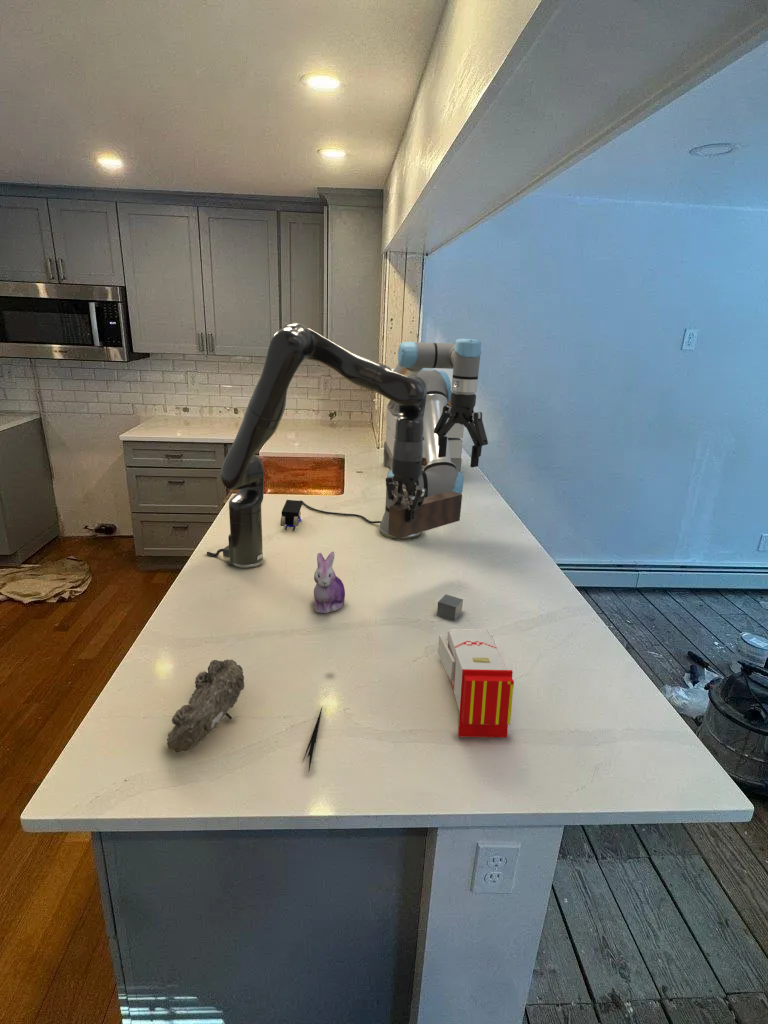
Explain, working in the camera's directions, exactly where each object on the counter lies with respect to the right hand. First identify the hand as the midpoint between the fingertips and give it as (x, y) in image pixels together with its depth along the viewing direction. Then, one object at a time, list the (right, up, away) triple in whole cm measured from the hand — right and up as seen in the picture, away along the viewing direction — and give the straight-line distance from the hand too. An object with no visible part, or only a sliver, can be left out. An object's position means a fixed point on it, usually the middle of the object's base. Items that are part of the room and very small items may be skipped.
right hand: (457, 461), depth 177 cm
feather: (-35, -56, -68) cm, 95 cm away
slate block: (-6, -42, -28) cm, 51 cm away
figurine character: (-56, -21, +26) cm, 65 cm away
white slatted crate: (-6, +3, +98) cm, 99 cm away
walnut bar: (-11, -20, -19) cm, 30 cm away
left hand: (-18, -18, -26) cm, 36 cm away
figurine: (-38, -41, -27) cm, 61 cm away
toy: (-5, -53, -58) cm, 79 cm away
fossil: (-56, -55, -69) cm, 104 cm away
